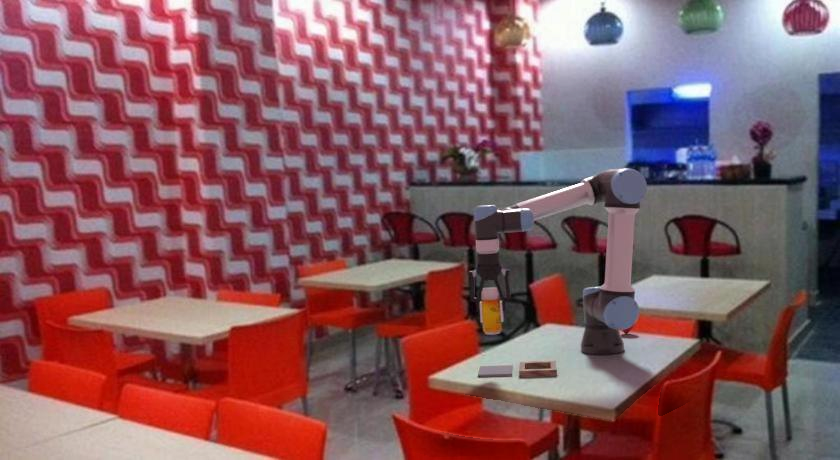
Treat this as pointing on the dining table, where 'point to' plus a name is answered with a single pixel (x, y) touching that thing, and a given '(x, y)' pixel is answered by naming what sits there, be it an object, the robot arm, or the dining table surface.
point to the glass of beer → (491, 310)
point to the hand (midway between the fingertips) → (492, 321)
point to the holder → (530, 370)
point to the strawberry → (628, 329)
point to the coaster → (495, 371)
